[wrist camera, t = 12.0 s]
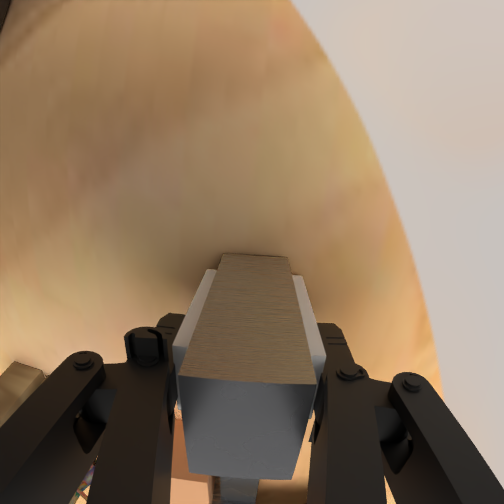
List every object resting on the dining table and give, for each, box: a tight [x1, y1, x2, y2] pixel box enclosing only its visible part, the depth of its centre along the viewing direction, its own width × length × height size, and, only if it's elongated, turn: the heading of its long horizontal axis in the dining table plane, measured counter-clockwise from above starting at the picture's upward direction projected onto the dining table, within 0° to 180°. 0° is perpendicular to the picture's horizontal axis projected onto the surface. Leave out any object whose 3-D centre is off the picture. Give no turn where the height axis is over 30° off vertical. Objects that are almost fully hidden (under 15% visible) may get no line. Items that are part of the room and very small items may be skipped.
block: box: [170, 419, 216, 504], centre depth 17 cm, size 5×5×5 cm
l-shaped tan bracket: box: [0, 361, 49, 427], centre depth 15 cm, size 10×3×7 cm, turn 86°
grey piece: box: [178, 253, 317, 504], centre depth 14 cm, size 19×7×9 cm, turn 176°
